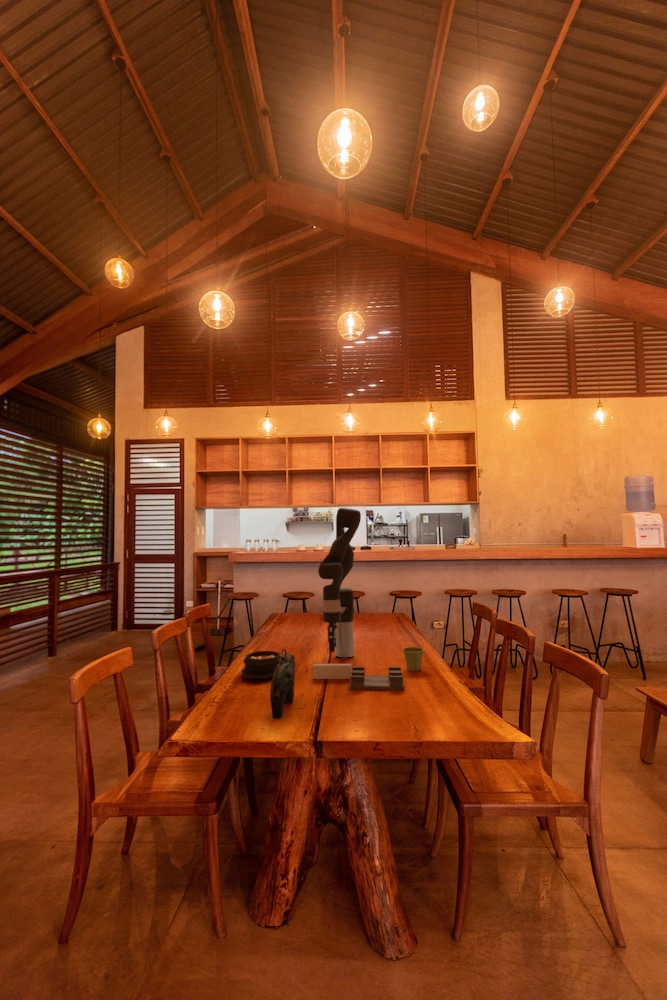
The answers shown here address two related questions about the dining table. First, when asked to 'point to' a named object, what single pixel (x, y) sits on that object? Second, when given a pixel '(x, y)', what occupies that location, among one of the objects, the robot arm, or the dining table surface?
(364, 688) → the dark grey holder
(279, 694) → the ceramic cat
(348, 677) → the clay strip
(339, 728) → the dining table surface
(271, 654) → the casserole
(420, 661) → the plant pot
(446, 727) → the dining table surface
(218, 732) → the dining table surface
